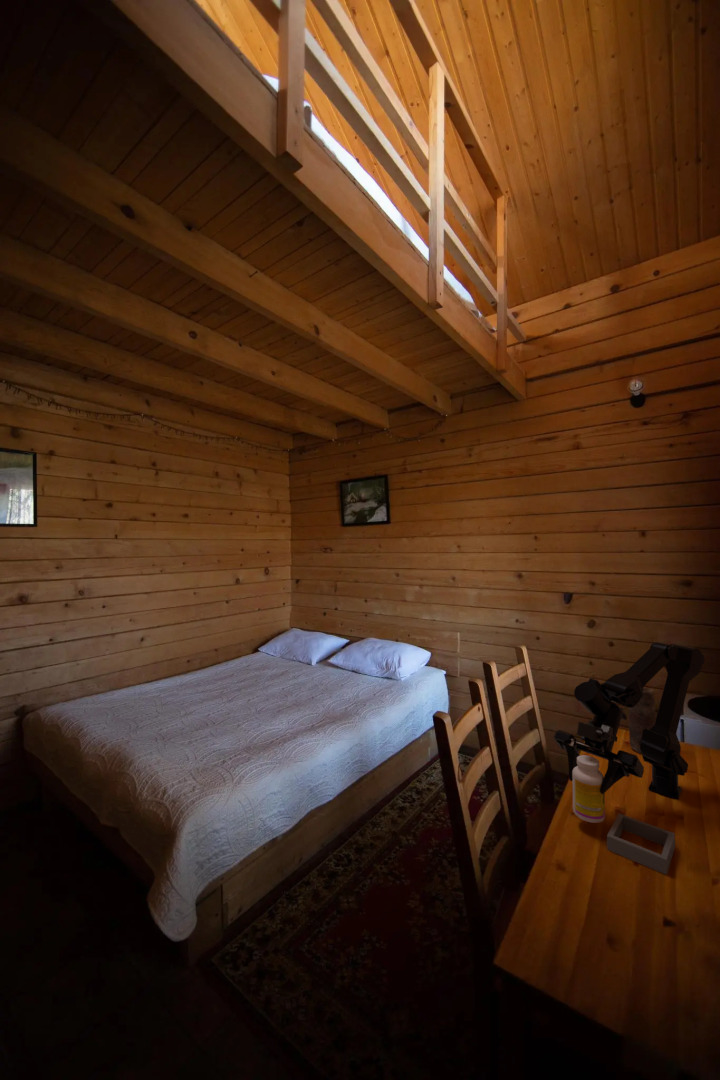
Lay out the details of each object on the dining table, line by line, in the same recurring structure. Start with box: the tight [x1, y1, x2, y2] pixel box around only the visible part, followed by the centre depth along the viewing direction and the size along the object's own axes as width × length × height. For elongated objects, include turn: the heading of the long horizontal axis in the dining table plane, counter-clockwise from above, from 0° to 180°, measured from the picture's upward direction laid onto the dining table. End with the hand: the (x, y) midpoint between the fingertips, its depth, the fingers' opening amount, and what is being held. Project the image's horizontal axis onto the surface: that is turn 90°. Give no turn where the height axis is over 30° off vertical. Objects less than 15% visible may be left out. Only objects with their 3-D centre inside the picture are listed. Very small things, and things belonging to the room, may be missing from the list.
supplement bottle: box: [571, 754, 606, 824], centre depth 101 cm, size 7×7×13 cm
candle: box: [628, 686, 657, 755], centre depth 137 cm, size 8×7×20 cm
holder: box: [606, 812, 676, 876], centre depth 93 cm, size 11×11×3 cm
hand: (585, 786), depth 100 cm, fingers closed on supplement bottle, 7 cm apart
